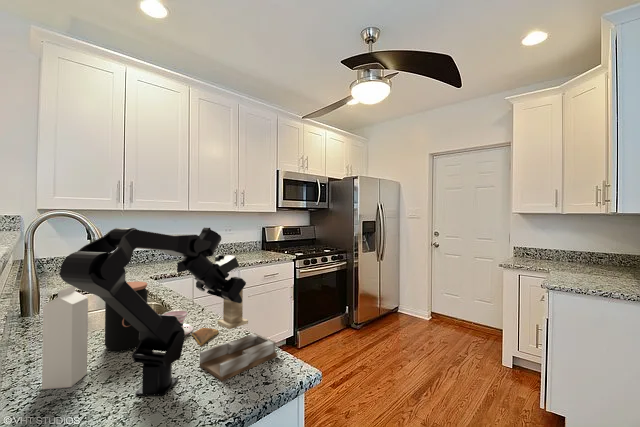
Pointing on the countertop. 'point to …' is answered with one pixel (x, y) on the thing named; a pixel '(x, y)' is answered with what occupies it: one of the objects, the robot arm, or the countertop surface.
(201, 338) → the folded crepe
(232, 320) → the beech peg
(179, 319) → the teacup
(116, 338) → the coffee jar
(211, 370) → the grey brown open tray
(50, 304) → the milk
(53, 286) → the countertop surface
